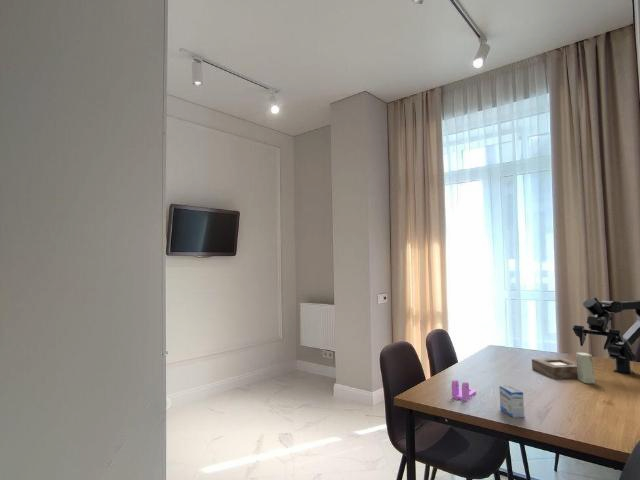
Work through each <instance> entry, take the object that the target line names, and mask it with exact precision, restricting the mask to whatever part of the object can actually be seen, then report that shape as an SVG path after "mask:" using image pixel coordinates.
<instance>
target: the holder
mask: <svg viewBox="0 0 640 480" xmlns="http://www.w3.org/2000/svg"><path fill="white" fill-rule="evenodd" d="M550 362H561V363H564V364H567V365H553V364H551V363H550ZM531 365H532V366H531V368H532V369H531V370H533V371H535V372H538V373H540V374H543V375H544V376H545V375H546V376H547V377H550V378H553V379H554V380H555V379H570V378H571V379H574V378H575V379H576V378H577V379H578V372H577V361H572V360H569V359H566V358H563V357H555V358H554V357H553V358H552V357H548V358H532V359H531Z"/></svg>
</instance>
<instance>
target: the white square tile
mask: <svg viewBox="0 0 640 480" xmlns="http://www.w3.org/2000/svg"><path fill="white" fill-rule="evenodd" d="M550 363H551V364H553V365H567V364H564V363H561V362H550Z"/></svg>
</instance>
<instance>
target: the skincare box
mask: <svg viewBox="0 0 640 480" xmlns="http://www.w3.org/2000/svg"><path fill="white" fill-rule="evenodd" d="M575 359H576V361H575V362H576V363H577V372H578V377H577V379H578V380H579V381H580V382H582V383H584V384H596V381H595V380H596V378H595V368H594V360H593V354H590V353H587V352H575Z"/></svg>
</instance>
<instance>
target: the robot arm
mask: <svg viewBox="0 0 640 480" xmlns="http://www.w3.org/2000/svg"><path fill="white" fill-rule="evenodd" d="M582 306H583V307H584V308H585V309H586V311H588V313H589V314H590V315H591V316H587V318H586V323H587V325H588V328H589V329H588V328H585V326H584V325H578V324H574V325H573V326H572V330H573V333H574V334H575V336H576V337H578V338H579V344H580V347H583V346H584V344H585V341H586V339H587V338H586V336H587V335H595V336H599V337H606V340H605V342H604V345H603V350H604V351H606V350H607V352H608V355H609V357H610V358H614V360H615V361H614V363H615V368H614V369H613V372H614V373H615V372H617V373H623V374H628V375H630V374H632V373H634V370H633V369H632V368H631V367H632V366H631V362H634V361H635V360H636V358H637V357H636V354H634V353H633V352H632V351H633V344H634V343H635V342H636V341H637V340H638V339H639V338H640V300H638V299H635V300H628V301H627V300H625V301H615V300H607V299H606V300H605V299H603V300H600V301H599V299H597V297H593V296H592V297H591V298H588V299H587V300H585V301H583V303H582ZM624 310H625V311H626V310H634V313H635V314H636V321H635V322H634V323H633V324H632V326H630V328H629V329H628V330H627V331H626V332H625V333H624V334H623V333H622V331H621V330H620V329H613V328H609V323H610V321H614V318H613V317H612V315H611V314H610V313H612V314H618V313H622V312H623V311H624ZM607 330H608V331H607Z"/></svg>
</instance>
